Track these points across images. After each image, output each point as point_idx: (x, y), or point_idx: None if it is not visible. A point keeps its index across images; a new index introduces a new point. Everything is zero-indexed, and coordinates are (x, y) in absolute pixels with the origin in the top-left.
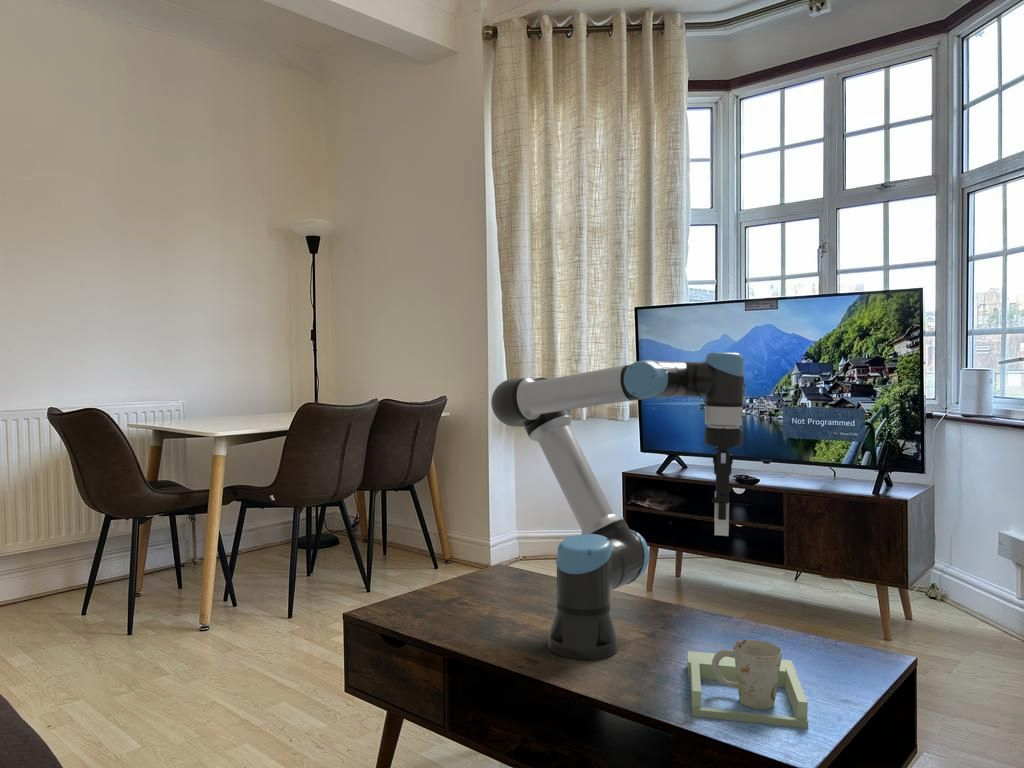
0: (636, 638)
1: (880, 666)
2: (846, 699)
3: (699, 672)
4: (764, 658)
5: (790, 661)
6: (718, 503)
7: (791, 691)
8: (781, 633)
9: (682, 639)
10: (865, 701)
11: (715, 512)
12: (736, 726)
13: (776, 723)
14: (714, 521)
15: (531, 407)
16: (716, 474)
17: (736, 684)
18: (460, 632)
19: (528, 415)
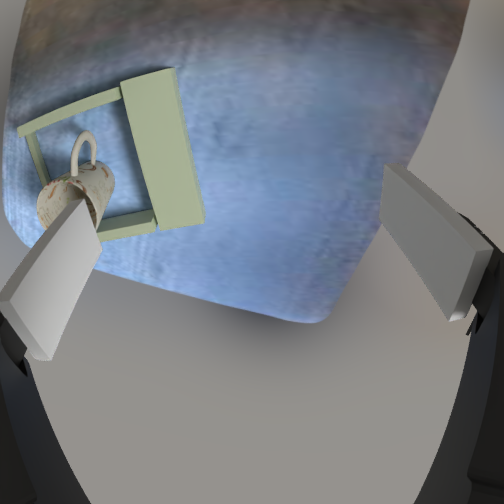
0: None
1: (284, 301)
2: (162, 269)
3: (69, 116)
4: (43, 225)
5: (198, 222)
6: (5, 314)
7: (103, 226)
8: (376, 197)
9: (300, 42)
10: (167, 285)
11: (22, 265)
12: (31, 171)
13: None
14: (384, 164)
15: None
16: (18, 501)
17: (91, 160)
18: None
19: None
